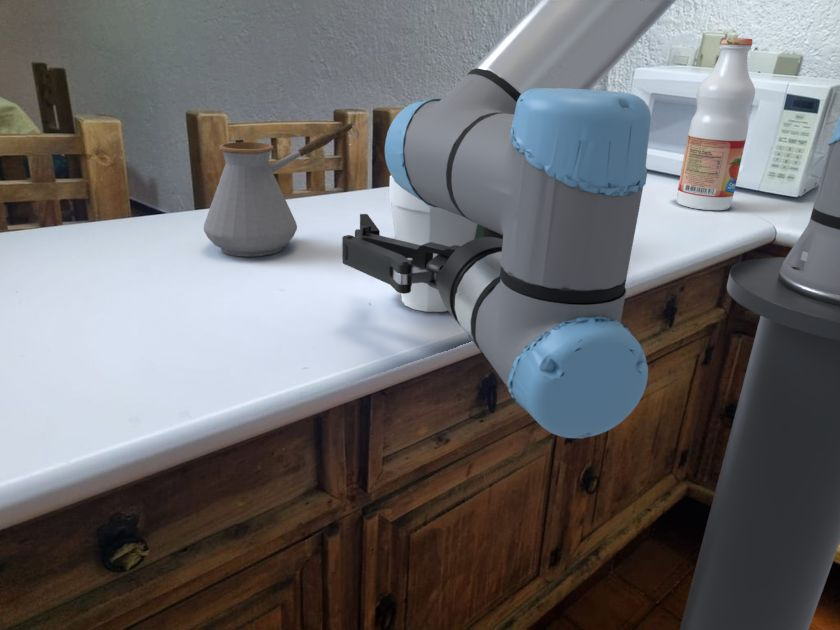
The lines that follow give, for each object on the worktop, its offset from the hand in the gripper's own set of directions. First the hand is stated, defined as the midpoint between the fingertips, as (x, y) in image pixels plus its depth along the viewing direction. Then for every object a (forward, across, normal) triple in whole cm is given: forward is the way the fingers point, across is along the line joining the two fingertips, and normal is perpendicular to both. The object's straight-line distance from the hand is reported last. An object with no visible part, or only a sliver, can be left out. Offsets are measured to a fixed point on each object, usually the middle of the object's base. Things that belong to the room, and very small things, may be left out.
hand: (427, 224), depth 69 cm
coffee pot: (+20, -13, -8) cm, 26 cm away
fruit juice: (+36, +62, -8) cm, 72 cm away
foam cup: (-3, 0, -8) cm, 8 cm away
